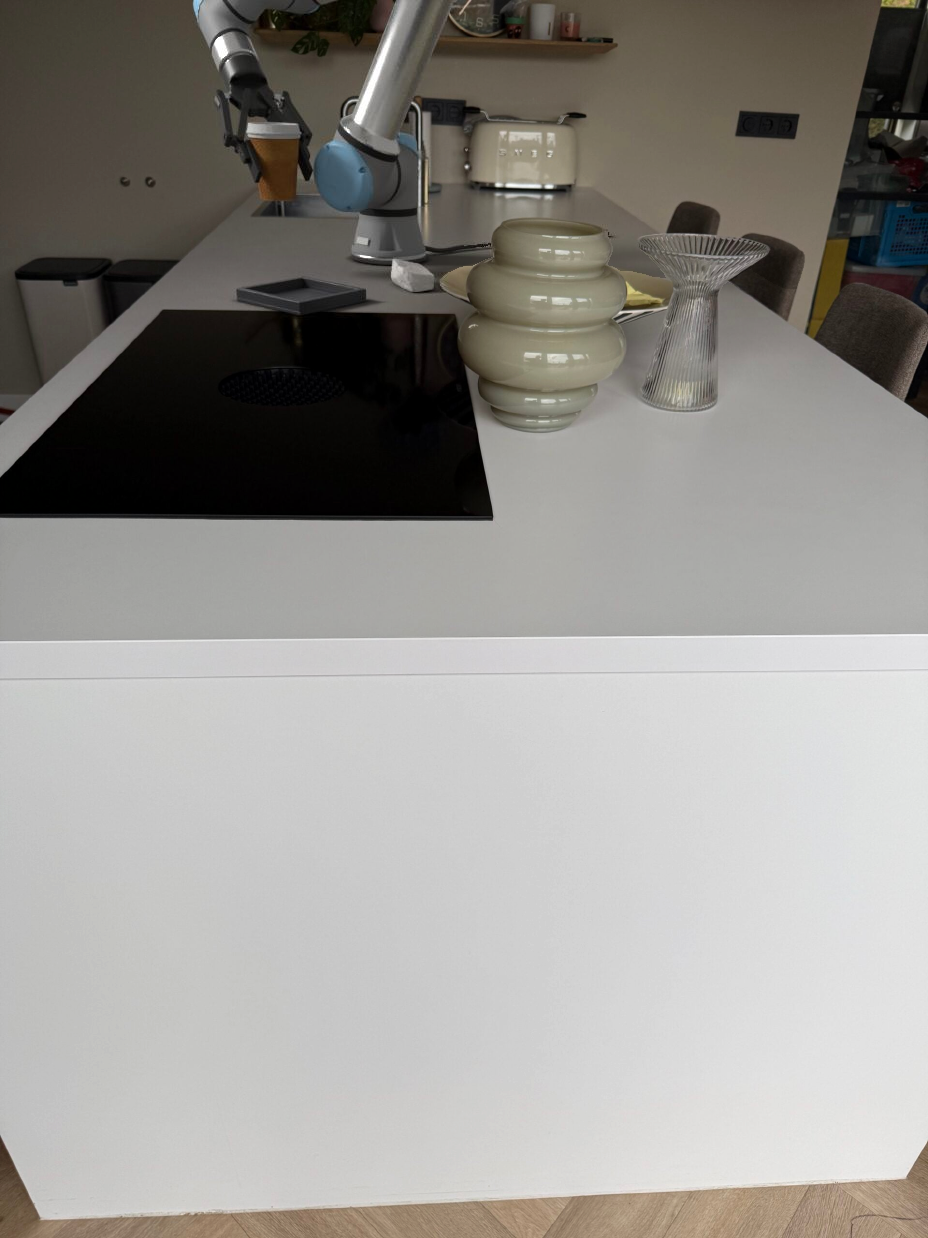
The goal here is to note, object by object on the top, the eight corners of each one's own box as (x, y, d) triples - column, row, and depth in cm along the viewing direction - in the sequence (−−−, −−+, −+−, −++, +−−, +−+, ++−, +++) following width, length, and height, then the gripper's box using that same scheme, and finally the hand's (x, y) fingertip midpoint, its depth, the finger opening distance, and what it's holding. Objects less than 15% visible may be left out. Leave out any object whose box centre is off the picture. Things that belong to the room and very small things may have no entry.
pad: (304, 287, 161) (303, 275, 160) (366, 301, 153) (366, 288, 152) (236, 300, 150) (235, 287, 149) (300, 315, 143) (299, 302, 142)
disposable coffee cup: (240, 199, 163) (234, 122, 156) (270, 194, 170) (265, 121, 164) (286, 203, 160) (281, 125, 153) (314, 198, 167) (311, 123, 161)
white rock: (427, 311, 163) (439, 281, 159) (394, 302, 160) (405, 272, 157) (417, 282, 169) (428, 253, 166) (385, 274, 167) (395, 244, 163)
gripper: (290, 86, 172) (333, 189, 169) (177, 84, 162) (221, 193, 158) (300, 53, 166) (345, 159, 163) (184, 49, 155) (229, 162, 152)
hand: (284, 176), depth 161 cm, fingers closed on disposable coffee cup, 9 cm apart
